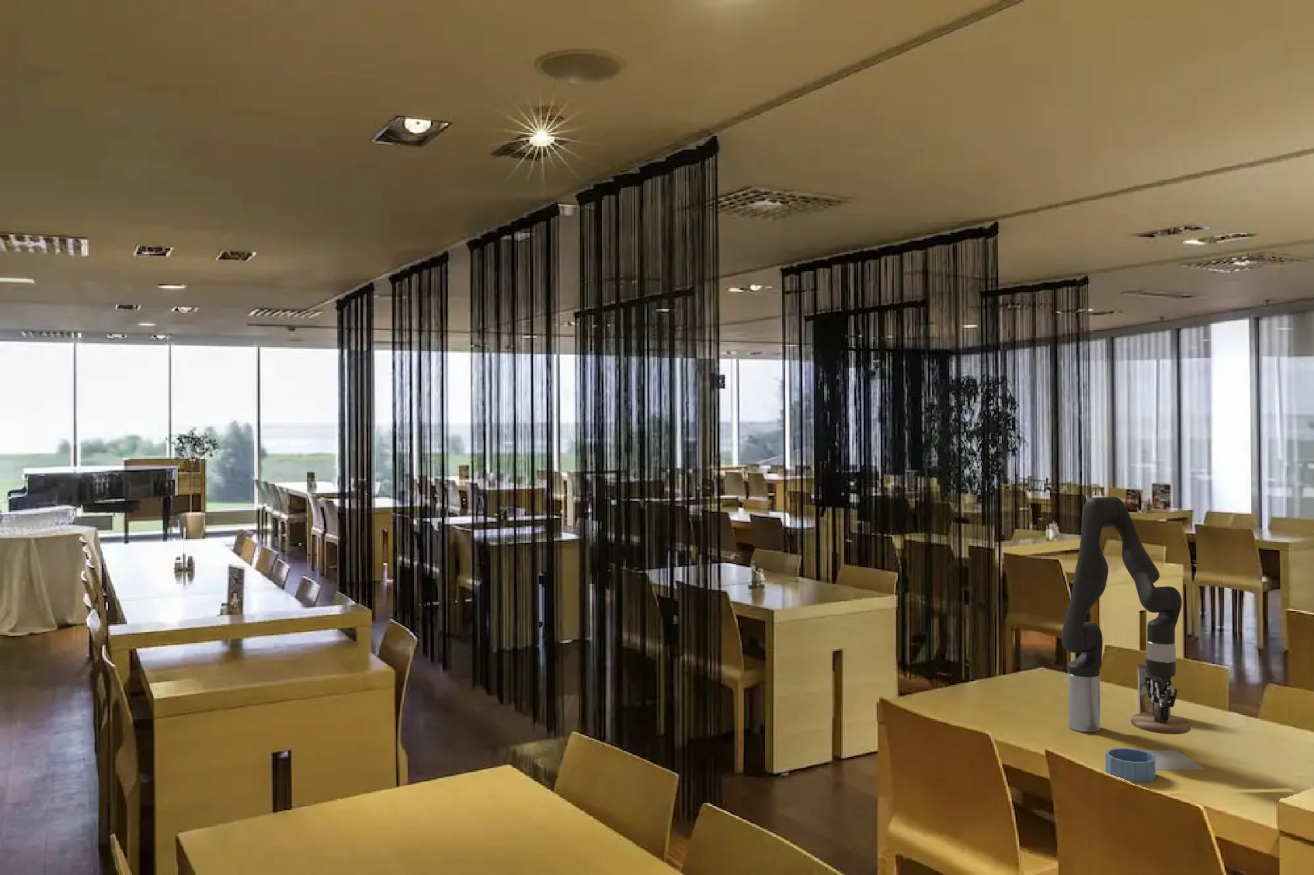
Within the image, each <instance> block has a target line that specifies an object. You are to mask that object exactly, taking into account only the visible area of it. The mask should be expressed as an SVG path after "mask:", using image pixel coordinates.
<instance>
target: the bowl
mask: <svg viewBox="0 0 1314 875" xmlns="http://www.w3.org/2000/svg"><path fill="white" fill-rule="evenodd" d="M1156 771H1157V770H1156V766H1155V756H1153V755H1152V754H1150V753H1148V752H1145V751H1143V750H1142V749H1135V748H1129V747H1113V748H1110V749H1106V751H1105V773H1106V774H1107V773H1110V774H1111V775H1114V776H1116V777H1120V778H1123V779H1125V780H1127V781H1132V782H1131V783H1134V784H1135V783H1137V784H1141V783H1151V782H1153V781H1154V780H1156V777H1157V775H1156V773H1157V772H1156ZM1127 781H1126V782H1127Z"/></svg>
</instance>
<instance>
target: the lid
mask: <svg viewBox="0 0 1314 875" xmlns="http://www.w3.org/2000/svg"><path fill="white" fill-rule="evenodd" d="M1130 718H1131V720H1130V721H1131V722H1130V723H1131V724H1132V726H1134V727H1135V728H1137V729H1139V730H1143V731H1146V732H1148V733H1149V732H1150V733H1155V734H1162V735H1183V734H1188V733H1189V732H1191V730H1192V724H1191V722H1189V721H1188V720H1187V719H1184V718H1181V717H1179V716H1175V715H1169V719H1168V721H1162V720H1160V703H1159V702H1155V703H1154V715H1153V713H1141V714H1139V713H1136V714H1133V715H1132V716H1131V717H1130Z"/></svg>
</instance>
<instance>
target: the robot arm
mask: <svg viewBox="0 0 1314 875" xmlns="http://www.w3.org/2000/svg"><path fill="white" fill-rule="evenodd" d="M1126 506H1127V505H1126V504H1125V503H1124V501H1123V500H1122V499H1121V498H1119V497H1117V496H1112V495H1111V496H1097V497H1096V496H1095V497H1089V498H1088V499H1087V500H1086V501H1085V503H1084V504H1083V508H1082V514H1081V526H1080V527H1081V528H1080V542H1079V548H1078V556H1077V561H1076V565H1075V569H1074V570H1075V571H1074V576H1073V583H1072V589H1071V594H1070V595H1071V596H1070V598H1069V605H1068V608H1067V610H1066V614H1065V618H1064V622H1063V625H1062V628H1061V629H1062V630H1061V643H1062V647H1063V649H1064V650H1065V651H1067V652H1068V653H1073V654H1079V653H1080V654H1079V656H1078V657H1077V658H1076V659H1075V658H1074V660H1071V661H1070V662H1068V664H1067V704H1068V705H1067V706H1068V707H1067V708H1068V709H1067V710H1068V711H1067V712H1068V713H1067V714H1068V715H1067V716H1068V717H1067V721H1068V725H1067V726H1068V728H1069V729H1071V730H1074V731H1076V732H1082V733H1096V732H1099V731H1100V730H1101V684H1100V683H1101V682H1100V681H1101V679H1100V678H1101V676H1100V675H1101V674H1100V673H1101V672H1100V671H1101V668H1102V664H1103V663H1102V662H1103V643H1104V642H1103V641H1104V640H1103V634H1102V630H1101V628H1100V626H1099V625H1098V624H1097V623H1096V622H1092V621H1085V620H1086V617H1087V615H1088V613H1089V611H1090V610H1091V609H1092V607H1093V606H1094V605H1095V604H1096V603H1097V601H1099V599H1100V598H1101V596H1102V595H1103V593H1104V592H1105V589H1106V587H1107V582H1108V577H1109V564H1108V561H1107V559H1106V557H1105V554H1104V553H1103V551H1102V548H1101V544H1100V543H1101V542H1100V541H1101V533H1102V530H1103V528H1114V529H1115V531H1117V533H1118V534H1119V536H1120V539H1121V559H1122V562H1123V565H1124V566H1125V568H1126V570H1127V572H1128V573H1129V575H1130V576H1131V578H1132V580H1133V581H1134V584H1135V588H1136V591H1137V595H1138V600H1139V602H1140V605H1141V606H1142V607H1143V609H1144V610H1146V611H1147V612H1150V613H1153V614H1154V613H1155V614H1157V613H1158V615H1157V616H1156V617H1155V618H1154V619H1151V620H1149V621H1147V625H1146V644H1145V646H1146V647H1145V664H1146V672H1147V673H1148V674H1150V677H1145V682H1146V687H1147V693H1148V697H1149V698H1151V701H1152V702H1153V715H1154V703H1155V702H1159V703H1160V720H1162V721H1168V719H1169V707H1170V708H1173V707H1174V706H1175V702H1176V698H1177V695H1178V689H1177V688H1173V687H1172V677H1175V676H1176V674H1177V648H1176V626H1177V624H1178V621H1179V617H1180V613H1181V610H1182V605H1183V603H1182V602H1183V600H1182V596H1181V593H1180V592H1179V590H1178V589H1177V588H1176V587H1174V586H1171V585H1170V586H1169V585H1168V586H1155V585H1154V584H1155V583H1156V582H1157V581H1158V580H1159V579H1160V575H1161V574H1160V571H1159V570H1158V567H1156V565H1155V563H1154V561H1153V560H1152V559H1151V557H1150V555H1149V554H1148V552H1147V550H1146V549H1145V548H1144V545H1143V542H1141V538H1140V536H1139V534H1138V531H1137V529H1136V527H1135V524H1134V521H1133V519H1132V518H1131V515H1130V513H1129V510H1128V508H1127V507H1126ZM1163 695H1165V696H1163ZM1163 699H1164V702H1163Z"/></svg>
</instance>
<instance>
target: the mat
mask: <svg viewBox="0 0 1314 875" xmlns="http://www.w3.org/2000/svg"><path fill="white" fill-rule="evenodd" d="M1142 751H1145V752H1148V753H1150V754H1152V755H1153V756H1155V766H1156V771H1177V770H1178V771H1186V770H1188V771H1191V770H1192V771H1193V770H1194V771H1195V770H1198V771H1199V770H1205V768H1204V767H1203V766H1201V765H1200V764H1198V763H1197V762H1195V761H1193V760H1192V759H1191V758H1189V757H1187V756H1186V755H1184V754H1182V753H1180V752H1179V751H1177V750H1176V749H1157V750H1155V749H1154V750H1153V749H1149V750H1142Z"/></svg>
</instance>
